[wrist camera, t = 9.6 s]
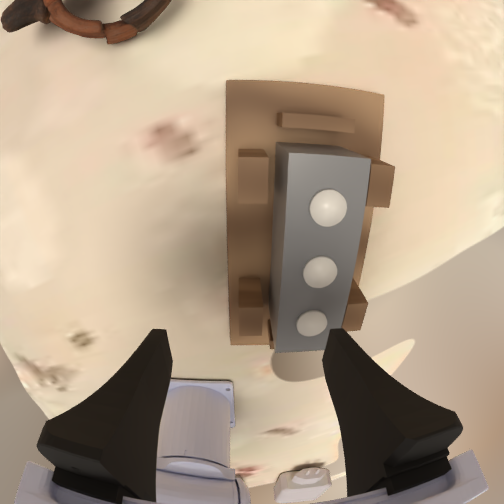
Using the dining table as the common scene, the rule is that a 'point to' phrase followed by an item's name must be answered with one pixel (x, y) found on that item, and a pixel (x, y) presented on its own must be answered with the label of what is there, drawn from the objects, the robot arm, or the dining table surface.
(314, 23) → the dining table surface
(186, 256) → the dining table surface
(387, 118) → the dining table surface
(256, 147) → the rack
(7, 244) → the dining table surface
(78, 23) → the brown open ring
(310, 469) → the charger
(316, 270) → the power strip
